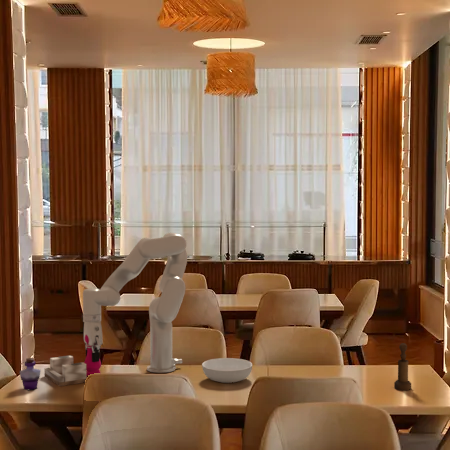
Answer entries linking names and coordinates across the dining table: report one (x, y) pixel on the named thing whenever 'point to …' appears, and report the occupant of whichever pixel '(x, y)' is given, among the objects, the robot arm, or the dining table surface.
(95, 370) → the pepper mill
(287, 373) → the dining table surface
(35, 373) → the potion bottle
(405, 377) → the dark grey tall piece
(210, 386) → the dining table surface
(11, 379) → the dining table surface
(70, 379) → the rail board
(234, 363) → the serving bowl
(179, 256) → the robot arm
